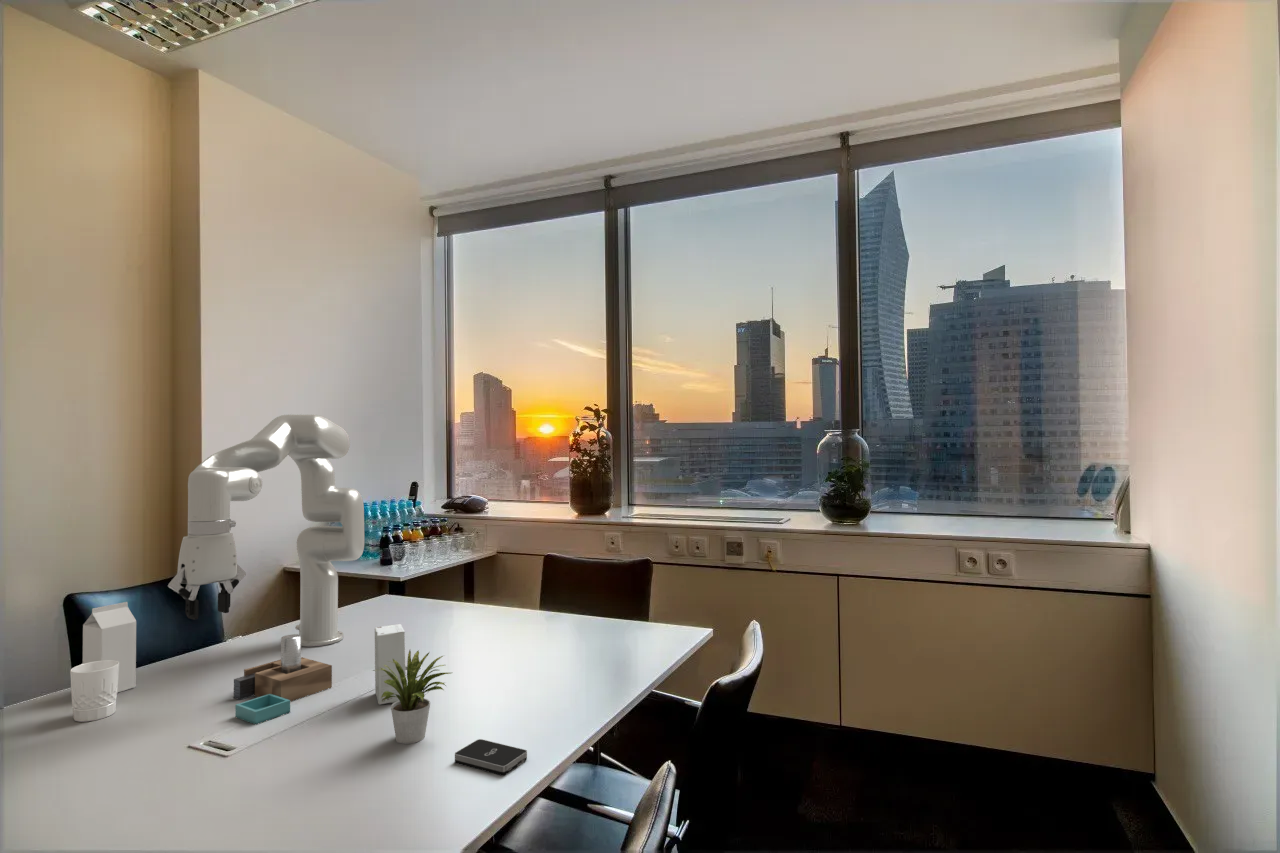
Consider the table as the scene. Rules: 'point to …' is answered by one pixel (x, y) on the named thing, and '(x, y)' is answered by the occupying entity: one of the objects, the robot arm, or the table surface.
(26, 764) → the table surface
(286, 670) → the peg
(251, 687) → the bar
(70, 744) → the table surface
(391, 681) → the house plant
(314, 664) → the socket block
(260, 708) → the tray
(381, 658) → the skincare box
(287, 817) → the table surface
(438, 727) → the table surface
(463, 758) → the external hard drive
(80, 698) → the white cup
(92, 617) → the milk carton
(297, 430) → the robot arm
